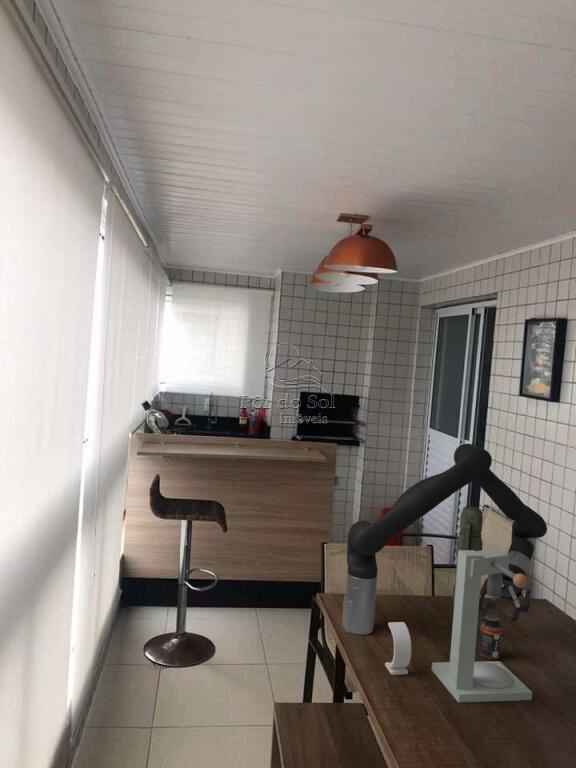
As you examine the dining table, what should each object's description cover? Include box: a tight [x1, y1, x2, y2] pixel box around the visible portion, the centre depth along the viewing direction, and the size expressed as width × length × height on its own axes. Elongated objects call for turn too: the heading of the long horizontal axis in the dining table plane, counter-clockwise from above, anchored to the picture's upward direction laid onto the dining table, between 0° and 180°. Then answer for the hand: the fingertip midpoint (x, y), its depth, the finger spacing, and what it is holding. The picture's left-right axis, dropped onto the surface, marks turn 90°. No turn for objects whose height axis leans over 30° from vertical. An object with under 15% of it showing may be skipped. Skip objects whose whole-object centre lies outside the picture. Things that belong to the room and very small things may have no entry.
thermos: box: [451, 505, 484, 606], centre depth 212 cm, size 9×12×35 cm
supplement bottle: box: [478, 615, 503, 661], centre depth 174 cm, size 6×6×11 cm
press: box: [431, 548, 533, 704], centre depth 152 cm, size 20×26×36 cm
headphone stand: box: [384, 621, 412, 676], centre depth 162 cm, size 5×6×12 cm
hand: (498, 616), depth 178 cm, fingers open, 8 cm apart
